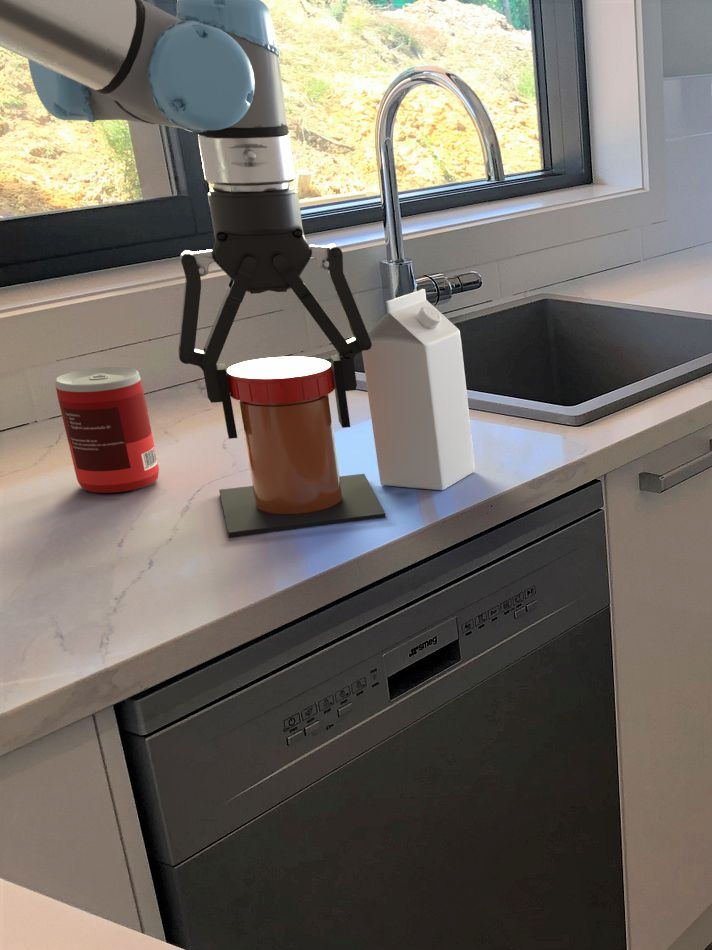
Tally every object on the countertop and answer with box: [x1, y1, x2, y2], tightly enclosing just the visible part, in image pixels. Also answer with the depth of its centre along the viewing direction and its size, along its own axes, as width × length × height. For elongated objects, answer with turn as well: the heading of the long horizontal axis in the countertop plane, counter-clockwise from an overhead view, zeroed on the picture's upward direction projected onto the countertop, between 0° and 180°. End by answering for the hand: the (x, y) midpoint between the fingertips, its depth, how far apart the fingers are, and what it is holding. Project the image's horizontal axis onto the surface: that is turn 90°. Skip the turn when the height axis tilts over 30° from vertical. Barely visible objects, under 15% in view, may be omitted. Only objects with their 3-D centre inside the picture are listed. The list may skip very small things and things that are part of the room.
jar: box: [238, 394, 343, 514], centre depth 134 cm, size 8×8×12 cm
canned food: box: [54, 366, 160, 494], centre depth 140 cm, size 8×8×11 cm
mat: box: [218, 473, 387, 538], centre depth 137 cm, size 14×14×1 cm
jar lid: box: [226, 356, 335, 403], centre depth 132 cm, size 9×9×2 cm
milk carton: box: [361, 288, 476, 491], centre depth 141 cm, size 7×7×19 cm
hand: (289, 429), depth 134 cm, fingers open, 9 cm apart
